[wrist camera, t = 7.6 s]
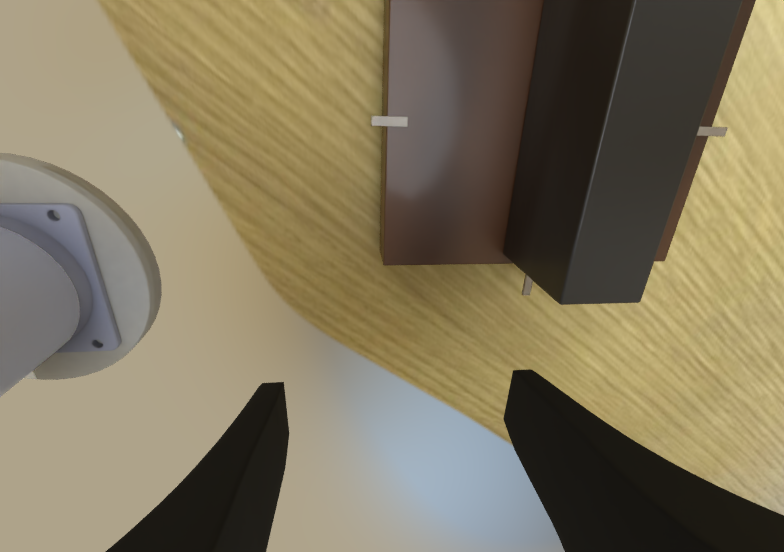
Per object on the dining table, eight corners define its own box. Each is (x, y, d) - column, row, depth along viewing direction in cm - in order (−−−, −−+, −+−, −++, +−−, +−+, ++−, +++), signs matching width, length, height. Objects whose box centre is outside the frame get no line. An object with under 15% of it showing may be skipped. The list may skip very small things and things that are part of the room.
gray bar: (563, 253, 17) (646, 306, 13) (502, 254, 17) (563, 308, 12) (631, -42, 13) (799, -132, 8) (551, -49, 13) (677, -148, 8)
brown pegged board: (367, 280, 19) (370, 299, 17) (369, -116, 13) (373, -158, 11) (637, 274, 21) (667, 291, 19) (750, -75, 15) (812, -105, 13)
